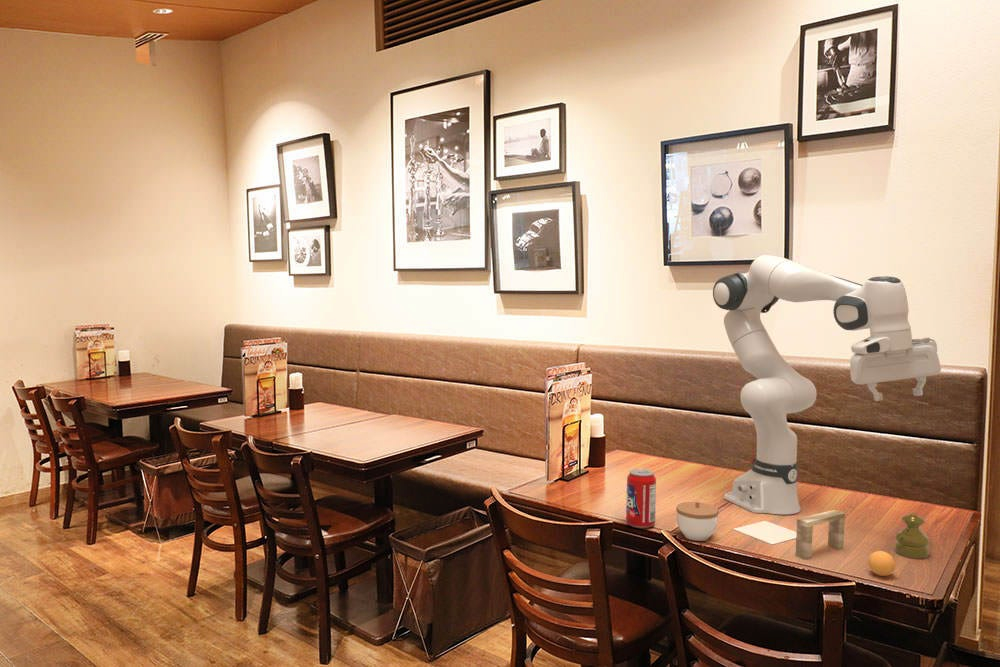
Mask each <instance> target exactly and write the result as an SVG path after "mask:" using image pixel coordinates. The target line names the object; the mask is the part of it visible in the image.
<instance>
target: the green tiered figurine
mask: <svg viewBox="0 0 1000 667" xmlns="http://www.w3.org/2000/svg"><path fill="white" fill-rule="evenodd" d="M901 520H902V521H903V522H904V523H905V525H906V527H904V528H903V529H902V530H900V531H898V532H896V533H895V537H894V538H895V540H896V541H895V542H894V545H895V546H894V551H895V552H896V553H897V554H898V555H900V556H901V557H905V558H908V559H915V560H921V559H922V560H923V559H927V558H928V557H929V554H930V547H929V545H930V541H931V540H930V538H929V537H928V536H927V535H926V534H925V533H924V532H922V530H921V529H920V527H921V526H922V525H924V524H925V522H926V520H925V519H924V518H923V517H921V516H919V515H918V514H916V513H909V514H905V515H902V517H901Z"/></svg>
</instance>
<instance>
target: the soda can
mask: <svg viewBox="0 0 1000 667" xmlns="http://www.w3.org/2000/svg"><path fill="white" fill-rule="evenodd" d="M654 473H655V472H654V471H653V470H650V469H645V468H635V469H634V468H633V469H630V470H629V473H628V475H627V476H626V477H627V478H626V503H625V504H626V506H625V508H626V509H625V512H626V513H625V515H626V516H625V520H626V524H627V525H629V526H631V527H632V528H636V529H649V528H651V527H653V526H654V525H655V524H656V505H657V504H656V503H657V502H656V499H657V477H656V476H655V474H654Z"/></svg>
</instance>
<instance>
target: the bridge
mask: <svg viewBox="0 0 1000 667" xmlns="http://www.w3.org/2000/svg"><path fill="white" fill-rule="evenodd" d="M845 522H846V512H844V511H840V510H837V509H832V510H829V511H824V512H820V513H815V514H811V515H807V516H803V517H800V518H797V519H796V532H797V533H796V539H795V556H796V557H798V558H801V559H802V560H807V561H808V560H810V559H812V556H813V555H812V554H813V532H814V529H813V527H815V526H818V525H823V524H826V523H828V535H827V547H829V548H832V549H835V550H837V551H839V550H844V545H845V527H846V526H845V524H846V523H845Z"/></svg>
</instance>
